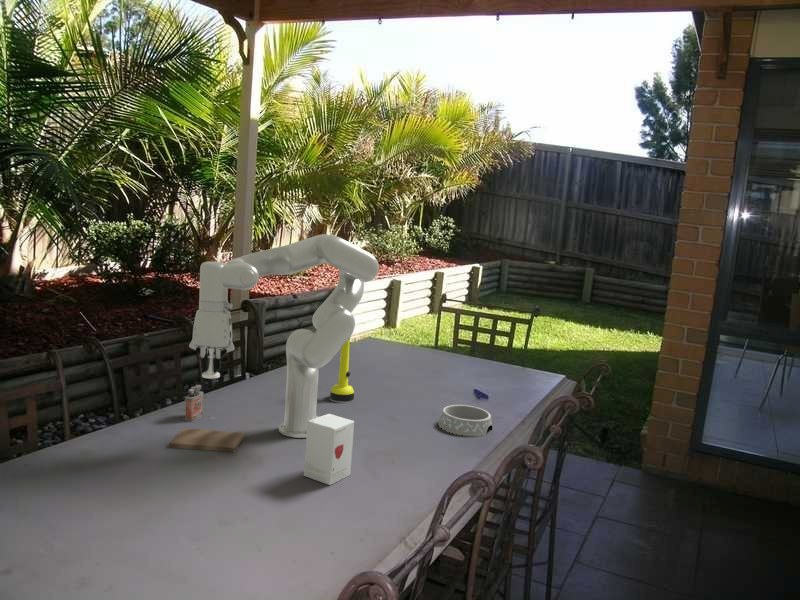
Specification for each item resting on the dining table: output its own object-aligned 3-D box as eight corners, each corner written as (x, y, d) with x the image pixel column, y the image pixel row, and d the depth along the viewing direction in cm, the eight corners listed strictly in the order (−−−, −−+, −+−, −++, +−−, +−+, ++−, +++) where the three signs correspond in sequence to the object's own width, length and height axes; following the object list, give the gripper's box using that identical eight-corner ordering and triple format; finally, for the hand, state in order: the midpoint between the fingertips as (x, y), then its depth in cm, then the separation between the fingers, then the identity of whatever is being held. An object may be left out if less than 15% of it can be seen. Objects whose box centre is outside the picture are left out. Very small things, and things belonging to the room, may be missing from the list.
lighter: (192, 422, 198) (193, 390, 197) (182, 420, 199) (183, 389, 198) (205, 414, 206) (206, 384, 205) (195, 413, 207) (196, 382, 206)
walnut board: (244, 436, 190) (244, 432, 190) (234, 452, 178) (234, 447, 178) (183, 432, 190) (183, 428, 190) (169, 447, 178) (169, 443, 178)
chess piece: (203, 373, 184) (204, 339, 182) (221, 374, 184) (222, 340, 183) (200, 378, 179) (201, 342, 177) (218, 379, 179) (219, 343, 178)
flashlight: (329, 331, 228) (352, 335, 225) (341, 328, 236) (363, 331, 233) (325, 399, 232) (347, 404, 228) (336, 393, 240) (358, 398, 237)
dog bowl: (498, 425, 219) (499, 410, 219) (480, 441, 203) (482, 424, 202) (451, 415, 227) (452, 400, 226) (430, 429, 210) (432, 413, 209)
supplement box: (330, 486, 162) (334, 429, 159) (302, 476, 166) (306, 420, 164) (351, 475, 169) (355, 420, 167) (324, 465, 174) (328, 412, 172)
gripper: (245, 306, 182) (242, 369, 185) (188, 302, 182) (186, 365, 185) (238, 310, 175) (236, 376, 178) (179, 306, 175) (178, 372, 177)
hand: (211, 370), depth 181 cm, fingers closed on chess piece
